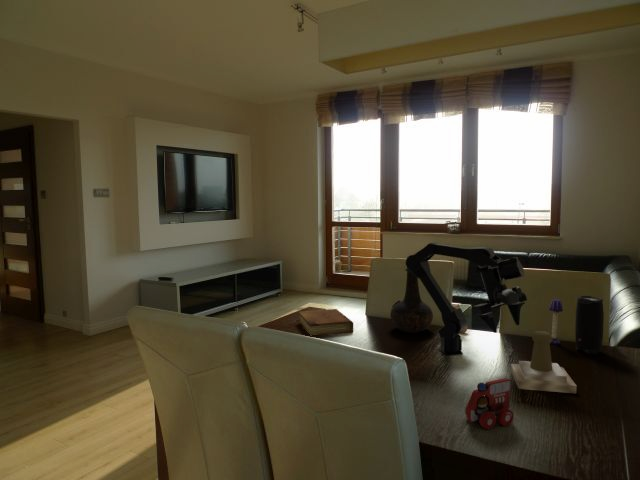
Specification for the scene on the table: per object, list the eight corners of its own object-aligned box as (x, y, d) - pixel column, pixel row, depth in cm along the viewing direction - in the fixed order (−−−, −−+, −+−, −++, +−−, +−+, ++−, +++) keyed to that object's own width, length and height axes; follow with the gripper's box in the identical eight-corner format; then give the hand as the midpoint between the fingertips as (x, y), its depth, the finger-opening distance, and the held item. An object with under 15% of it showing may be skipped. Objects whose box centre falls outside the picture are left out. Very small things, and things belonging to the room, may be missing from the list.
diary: (353, 334, 191) (353, 320, 191) (310, 338, 187) (309, 324, 186) (338, 320, 213) (337, 308, 213) (299, 323, 209) (298, 311, 208)
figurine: (471, 335, 185) (471, 306, 184) (456, 335, 184) (456, 306, 183) (463, 329, 193) (463, 301, 192) (449, 330, 192) (449, 302, 192)
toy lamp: (558, 341, 175) (560, 298, 174) (564, 345, 170) (565, 301, 169) (545, 341, 175) (546, 298, 174) (550, 344, 171) (551, 301, 169)
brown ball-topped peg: (555, 368, 136) (556, 332, 135) (547, 373, 132) (548, 336, 131) (535, 363, 140) (536, 328, 140) (526, 367, 136) (527, 331, 136)
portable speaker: (582, 355, 159) (584, 300, 157) (569, 347, 168) (571, 294, 166) (608, 355, 158) (609, 300, 156) (594, 347, 167) (595, 294, 166)
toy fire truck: (458, 420, 113) (458, 379, 112) (499, 411, 117) (499, 372, 116) (476, 433, 106) (477, 389, 106) (519, 424, 110) (519, 382, 110)
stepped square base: (518, 388, 131) (518, 375, 131) (510, 370, 146) (511, 358, 145) (576, 393, 127) (576, 379, 127) (562, 374, 142) (562, 361, 141)
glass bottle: (401, 322, 206) (401, 261, 204) (439, 328, 196) (439, 263, 194) (382, 331, 192) (382, 266, 190) (422, 338, 181) (423, 269, 179)
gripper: (484, 288, 143) (499, 337, 142) (531, 274, 149) (546, 321, 147) (464, 291, 154) (478, 336, 152) (509, 277, 159) (522, 321, 158)
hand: (506, 328), depth 152 cm, fingers open, 9 cm apart
